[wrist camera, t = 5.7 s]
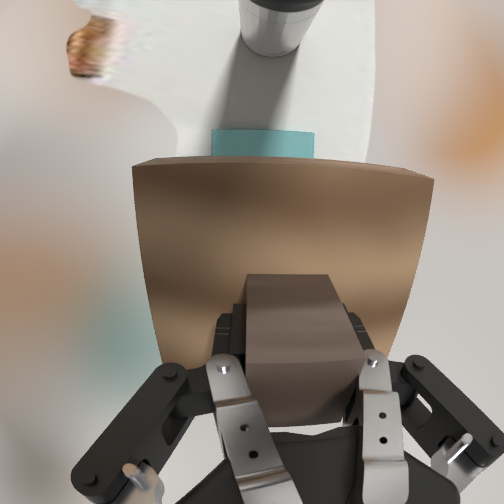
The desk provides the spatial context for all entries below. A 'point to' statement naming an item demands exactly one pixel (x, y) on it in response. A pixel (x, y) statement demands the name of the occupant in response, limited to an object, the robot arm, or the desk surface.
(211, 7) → the desk surface
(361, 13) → the desk surface
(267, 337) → the walnut cover
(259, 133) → the teal mat
